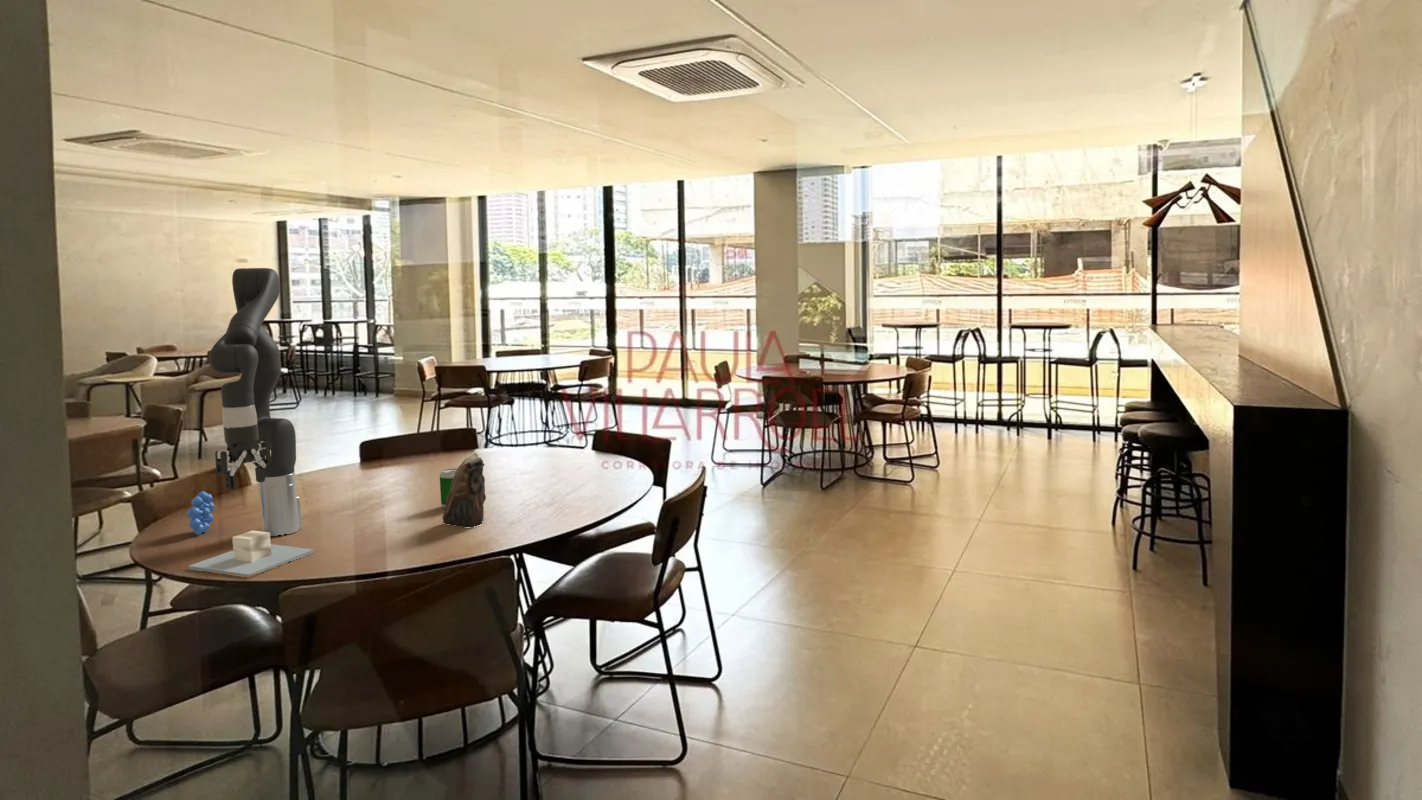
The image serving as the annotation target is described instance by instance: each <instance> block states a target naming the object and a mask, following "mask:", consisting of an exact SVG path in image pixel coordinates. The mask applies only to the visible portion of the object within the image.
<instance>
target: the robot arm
mask: <svg viewBox="0 0 1422 800" xmlns="http://www.w3.org/2000/svg"><path fill="white" fill-rule="evenodd" d="M231 276H232V279H231V281H232V282H231V283H232V291H233V297H234V302H235V309H236V313H234V315H233V316H232V317H231V319H230V320H229V323H228V326H227V328H226V332H225V333H224V334H223V335H221V337H220V338H219V339H218V341H216V342H215V343H214V344H213V346H212V347H211V350H210V352H209V355H208V363H209V365H210V367H211V369H212V370H213V371H215V372H216V373H220V374H233V373H241V375H240V377H239V379H237V380H234V381H231V382H230V381H229V382H226V383H224V384H223V385H221V387H220V391H221V392H220V394H221V404H222V424H223V436H224V443H225V444H226V447H227V448H226V450H216V451H215V453H214V456H215V459H214V460H215V474H216V475H219V476H223V477H224V482H225V483H224V484H225V488H226V489H227V490H228V491H231V492H232V491H236V490H237V483H236V482H237V481H236V475H235V473H236V471H237V469H239V468H240V467H241V465H244V464H247V463H252V465H254V471H255V480H256V483H258V486H259V487H258V489H259V497H260V498H259V499H260V500H259V501H260V511H261V520H262V532H269V533H270V537H279V536H278V535H281V536H285V535H284V534H287V535H291V534H294V533H296V532H298V531H299V530H300V529H302V528H303V526H302V525H303V522H302V515H301V514H302V512H301V511H302V510H301V500H300V499H301V498H300V496H299V495H297V488H296V487H297V486H296V485H297V484H296V473H295V466H296V461H297V438H296V430H295V427H294V424H293V423H292V422H291V420H289V418H288V419H287V418H281V417H278V418H276V417H271V413H270V400H271V396H272V393H273V391H274V389H275V387H276V385H277V384H278V382H279V380H280V379H279V378H280V376H281V373H282V364H281V354H280V349H279V346H278V344H277V343H276V341H275V339H273V337H272V336H271V335H270V334H269V332H268V331H267V330H266V329H265V328H264V327H263V323H264V321H265V319H266V318H267V316H268V315H269V313H270V312H271V310H272V309H273V307H274V305H275V304H276V302H277V300H278V298H279V296H280V292H281V281H280V277H279V275H278V273H277V271H276V270H274V269H273V268H268V267H251V268H250V267H249V268H247V267H243V268H236V269H235V270H234V271H233V273H232V275H231Z"/></svg>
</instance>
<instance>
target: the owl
mask: <svg viewBox="0 0 1422 800" xmlns="http://www.w3.org/2000/svg"><path fill="white" fill-rule="evenodd" d="M484 466H485V463H484V460H483V459H482V457H480V456H479V455H478V453H476V452H475V453H473V454H470V455H469V456H468V457H466V458H465V459H464V460H463V461H462V462H461V464H460V465H459V466H458V467H457V471H456V472H455V475H454V477H453V480H452V483H451V487H450V491H449V494H448V497H447V499H446V506H445V508H444V513H443V515H442V524H443V523H445V524H444V525H446V524H450V525H449V526H451V525H456V526H455V527H457V526H463V527H462V528H464V527H474V526H477V525H480V524H482V523H483V522H482V521H484V520H483V518H484V513H485V510H484V509H485V508H484V504H485V502H486V499H487V495H486V486H485V482H486V479H485V476H484V474H483V472H484ZM484 519H485V518H484Z"/></svg>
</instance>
